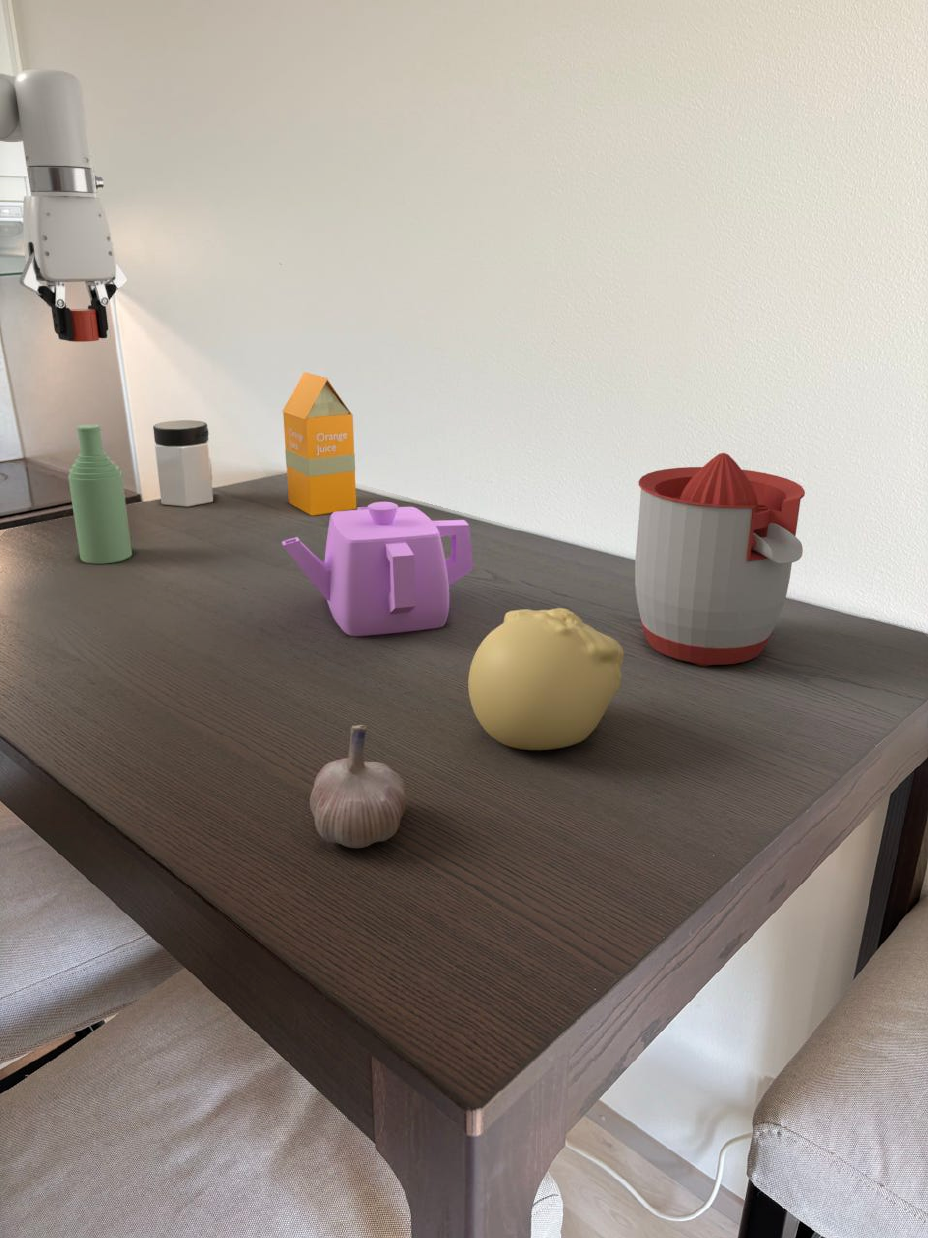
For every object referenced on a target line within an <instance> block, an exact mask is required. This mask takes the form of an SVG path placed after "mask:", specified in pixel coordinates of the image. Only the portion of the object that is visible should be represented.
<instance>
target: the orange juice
mask: <svg viewBox="0 0 928 1238" xmlns="http://www.w3.org/2000/svg"><path fill="white" fill-rule="evenodd" d="M281 412H282V414H283V429H284V444H285V449H284V451H285V463H286V464H285V466H286V475H287V476H286V477H287V490H288V491H287V493H288V503H289V504H290V505H292V506H293V507H295V508H297V509H299V510H300V511H302V512H305V513H306V514H308V515H310V516H318V515H324V514H325V515H326V514H332V513H334V512H339V511H350V510H357V491H356V459H355V456H356V455H355V440H354V415H353V413H352V412H351V411H350V410H349V408H348V407H347V405H346V404H345V402H344V401H343V400H342V398H341V397H340V395H339V394H338V393H337V391H336V390H335V388H334V387H333V386H332V384H331V382H330V381H329V378H328V377H324V376H320V375H316V374H313V373H309V372H307V371H306V372H305V371H303V372H302V374H301V376H300V378H299V380H298V382H297V384H296V385H295V387H294V389H293V391H292V393H291V395H290V396H289V398H288V400H287V402H286V403H285V405H284V408H283V409H282V411H281Z"/></svg>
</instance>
